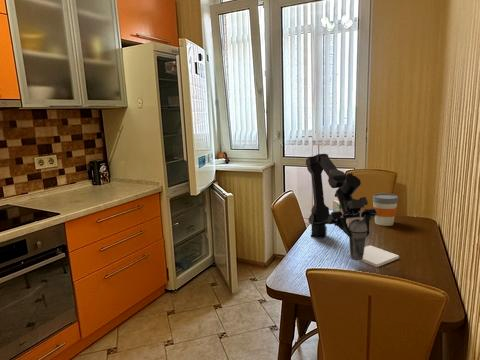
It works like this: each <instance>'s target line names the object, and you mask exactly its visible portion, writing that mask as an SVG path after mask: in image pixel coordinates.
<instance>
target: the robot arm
mask: <svg viewBox="0 0 480 360" xmlns="http://www.w3.org/2000/svg"><path fill="white" fill-rule="evenodd" d="M305 166H306V168H307V171H308V173H310V175H311V185H312V196H313V206H312V208H311V210H310V211H311V213H310V215H309V217H308V223H309V224H310V225H311V234H310V237H312V238H318V239H319V238H321V239H324V238H325V237H326V236H327V231H328V230H327V226H326V225H334V226H335V227H337V228H338V229H340V230H341V231H343V233H344V234H345V235H347V236H348V238H349V237H351V233H350V230H349V228H348V225H347V223H346V219H350V218H359V217H360V211H361V209H363V208H365V207H366V206H368V205H369V201H368V199H367V197H366V196H365V197H364V196H363V197H359V198H358V199H356V198H354V197H353V195H354V194H355V192H356V191H357V190H358V188H359V187H360V186H361V184H362V183H361V182H362V181H361V179H360V178H359V177H358V176H356V175H354V174H353V173H351V172H350V173H347V174H346V173H345V171H342V170H339V169H338V168H337V167H336V165H335V164H334V162H333V161H332V160H331V159H330V157H329V154H328V153H318V154H315V155H313V156H308V157H307V158H306V159H305ZM323 171H324V173H326V176H327V177H328V179H327V182H328V185H329V187H331V188H332V189H336V190H335V193H334V197H335V198H337V200H338V201H339V203H340V206H339V208H340V209H342V212H343V214H342V212H340V211H337V212H333V211H331V213H330V208H329V206H327V205H326V204H325V195H324V188H323V177H322V173H323ZM376 215H377V212H376V210H375V209H374V208H373V207H371V208H365V209H364V210H362V213H361V220H362V221H363V222H364V223H365V224H366V225H367V230H368V232H367V235H366V236H369V235H370V221H372V220H374V219H375V216H376Z"/></svg>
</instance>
